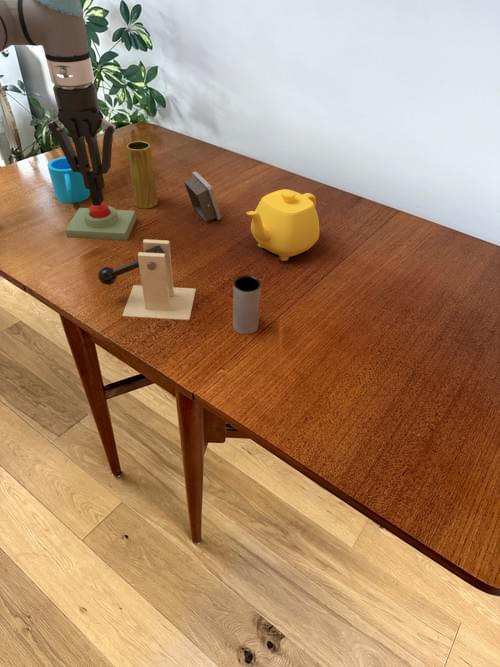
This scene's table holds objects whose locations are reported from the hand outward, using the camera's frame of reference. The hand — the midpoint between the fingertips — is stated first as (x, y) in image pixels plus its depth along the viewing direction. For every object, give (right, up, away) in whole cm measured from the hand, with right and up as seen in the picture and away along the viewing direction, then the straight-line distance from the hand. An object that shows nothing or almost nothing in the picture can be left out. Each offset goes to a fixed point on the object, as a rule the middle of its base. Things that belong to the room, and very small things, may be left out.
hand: (98, 202), depth 101 cm
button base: (0, -5, +4) cm, 7 cm away
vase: (+7, +4, +14) cm, 16 cm away
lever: (+13, -18, -20) cm, 30 cm away
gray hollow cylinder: (+32, -28, -18) cm, 46 cm away
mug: (-11, +5, +14) cm, 18 cm away
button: (0, -2, +2) cm, 3 cm away
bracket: (+16, -24, -15) cm, 32 cm away
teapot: (+39, -10, +1) cm, 41 cm away
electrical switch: (+22, 0, +11) cm, 25 cm away
